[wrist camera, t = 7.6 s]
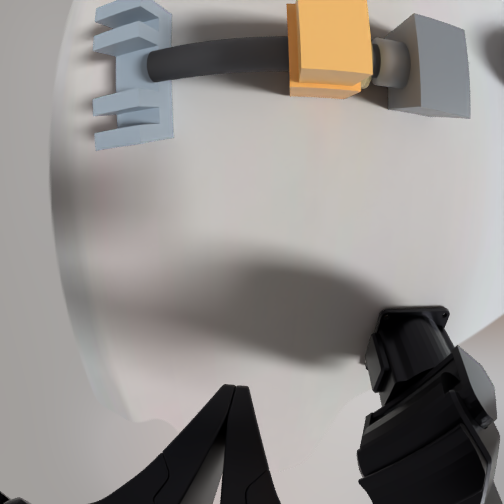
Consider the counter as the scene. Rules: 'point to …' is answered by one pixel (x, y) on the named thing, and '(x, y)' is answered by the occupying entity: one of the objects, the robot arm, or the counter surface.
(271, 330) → the counter surface
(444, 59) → the connector
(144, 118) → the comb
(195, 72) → the black rod
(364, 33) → the sleeve
